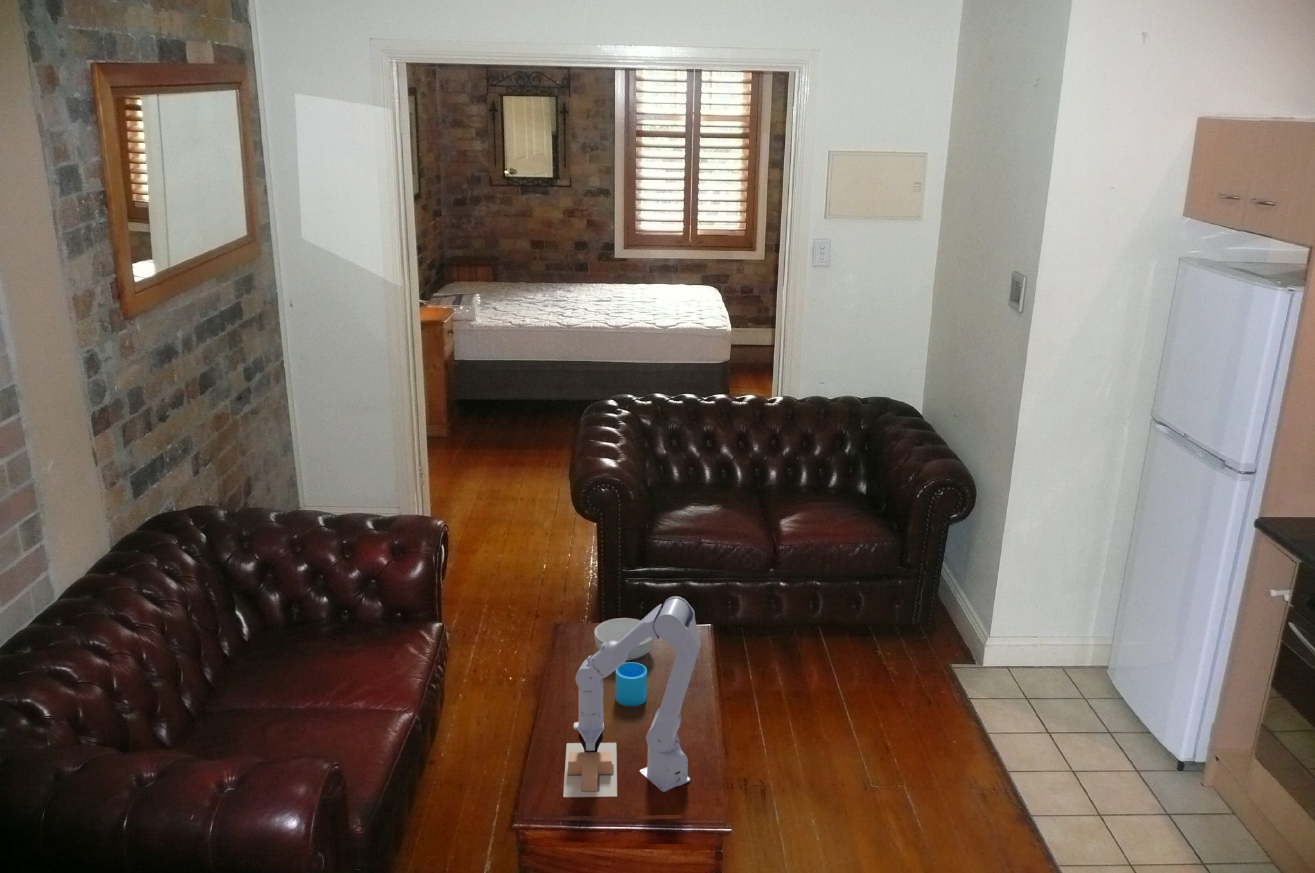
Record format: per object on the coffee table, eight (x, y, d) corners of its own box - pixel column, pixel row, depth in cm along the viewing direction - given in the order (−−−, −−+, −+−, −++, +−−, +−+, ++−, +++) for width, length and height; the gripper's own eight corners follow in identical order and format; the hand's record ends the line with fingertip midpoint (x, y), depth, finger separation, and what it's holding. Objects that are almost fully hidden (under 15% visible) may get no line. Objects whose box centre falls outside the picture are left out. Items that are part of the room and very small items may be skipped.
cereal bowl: (665, 649, 291) (665, 627, 289) (633, 675, 278) (633, 652, 275) (616, 632, 300) (616, 611, 297) (582, 657, 286) (582, 634, 284)
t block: (568, 765, 239) (568, 752, 238) (611, 764, 239) (611, 751, 238) (567, 791, 230) (567, 778, 229) (611, 790, 230) (611, 777, 229)
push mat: (566, 745, 247) (566, 743, 247) (616, 744, 248) (616, 742, 248) (563, 799, 228) (563, 796, 228) (617, 798, 229) (617, 796, 229)
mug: (643, 707, 263) (644, 680, 261) (612, 704, 264) (612, 677, 262) (651, 683, 274) (651, 656, 272) (621, 680, 275) (621, 653, 273)
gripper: (574, 690, 243) (574, 739, 247) (572, 726, 229) (572, 777, 233) (604, 690, 243) (604, 739, 247) (604, 726, 229) (603, 777, 233)
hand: (590, 758), depth 240 cm, fingers closed
